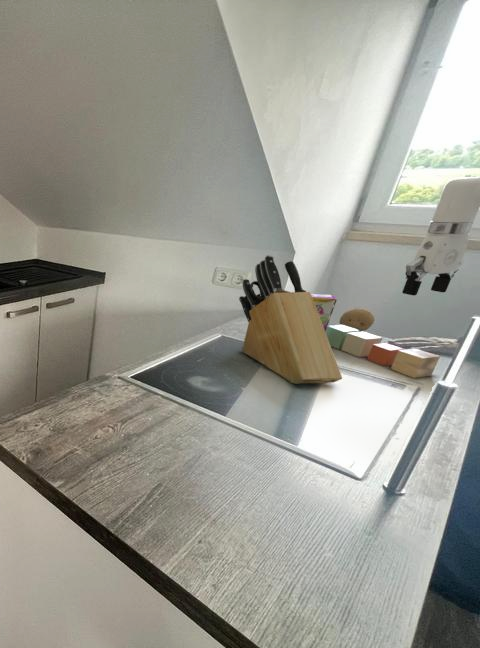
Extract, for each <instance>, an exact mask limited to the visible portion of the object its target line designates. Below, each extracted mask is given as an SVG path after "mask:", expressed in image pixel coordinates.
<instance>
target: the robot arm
mask: <svg viewBox="0 0 480 648" xmlns="http://www.w3.org/2000/svg"><path fill="white" fill-rule="evenodd" d="M479 211H480V176H473V177H472V176H471V177H456V178H451V179H449V180H448V181H447V182H446V183H445V185H444V187H443V189H442V191H441V193H440V196H439V199H438V203H437V205H436V207H435V211H434V213H433V216H432V218H431V221H430V223H429V226H428V229H427V231H426V234H425V237H424V238H423V240H422V242H421V244H420V246H419V247H418V249H417V252H416V253H415V256H414V259H413V260H412V261H411V262H409V263H408V264H406V265H405V276H406V277H405V280H406V281H405V283H404V286H403V289H402V292H401V293H402V294H404V295H409V296H412V297H413V296H417V295H418V293H419V290H420V287H421V285H422V283H423V282H422V279H423V278H424V277H425V276H426V275H427V274H429V275H436V276H435V278H434V279H433V283H432V286H431V288H430V291H432V292H438V293H446V292H447V290H448V288H449V285H450V283H451V280H452V279H453V278H454V277H455V274H456V273H457V272H458V271H459V270H460V268H461V266H462V265H463V263H464V261H465V260H464V257H465V254H466V250H467V247H468V242H469V239H470V231H471V229H472V227H473V224H474V222H475V220H476V218H477V215H478V212H479Z"/></svg>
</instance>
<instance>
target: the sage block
mask: <svg viewBox="0 0 480 648" xmlns="http://www.w3.org/2000/svg"><path fill="white" fill-rule="evenodd" d="M359 331H360V330H357V329H354V328H351V327H348V326H345V325H340V324H335V325H328V326H327V328H326V331H325V332H326V335H327V338H328V341H329V343H330V346H331V348H335V349H338V350H339V349H340V350H341V349H342V346H343V344H344V341H345V338H346V335H347V333H352V332H359Z"/></svg>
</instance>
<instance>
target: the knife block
mask: <svg viewBox="0 0 480 648" xmlns="http://www.w3.org/2000/svg"><path fill="white" fill-rule="evenodd" d="M277 267H278V266H277V265H276V263H275V260H274V256H273V255H269V254H268V255H267V254H266V256H264V259H262V260H261V261H260V262H259V263H257V264H256V265H255V268H254V271H255V277H256V280H254V281H252V282H251V283H250V279H248V278H244V279H243V280H242V288H243V289H242V290H243V293H244V295H245V296H243V295H240V296H239V298H238V300H239V302H240V304H241V307H242V310H243V313H244V316H245V317H246V320H247V322H248V324H247V328H246V332H245V337H244V340H243V346H242V348H241V352H242V353H244V354H245V355H247V356H249V357H250V358H252V359H254V360H256V361H257V362H259V363H260V364H263V365H265V367H267V368H268V369H270V370H271V371H273V372H275V373H276V374H278V375H280V376H281V377H282V378H285V379H286V380H287V381H289V382H290V383H292V384H296V385H297V384H298V385H299V384H331V383H336V382H338V381H340V380H342V379H343V376H342V374H341V371H340V368H339V365H338V362H337V360H336V357H335V354H334V352H333V349H332V346H330V343H329V341H328V338H327V335H326V332H325V330H324V327H323V324H322V322H321V319H320V317H319V314H318V311H317V309H316V306H315V303H314V301H313V298H312V296H311V294H312V293H311V292H310V291H307V290H304V289H303V288H302V281H301V277H300V274H299V271H298V268H297V266H296V264H295V262H294V261H293V260H292V261H291V260H290V261H287V262H285V264H284V269H285V271H286V272H287V274H288V277H289V280H290V282H291V284H292V286H293V288H294V291H288V290H285V289H284V288H283V287H282V280H281V275H280V272H279V270H278V268H277ZM254 285H255V286H257V288H258V290H259V293H258V294H256V293H255V290H254Z"/></svg>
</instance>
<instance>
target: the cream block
mask: <svg viewBox="0 0 480 648" xmlns="http://www.w3.org/2000/svg"><path fill="white" fill-rule="evenodd" d="M382 340H383V337H382V336H378V335H375V334H373V333H369V332H367V331H364V332H363V331H362V332H352V333H347V335H346V338H345V341H344V344H343V346H342V348H341V349H340V350H341V351H344V352H345V353H347V354H351V355H353V356H356V357H359V358H364V357H368V356H369V353H370V351H371V348H372V346H373V344H382Z"/></svg>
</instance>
